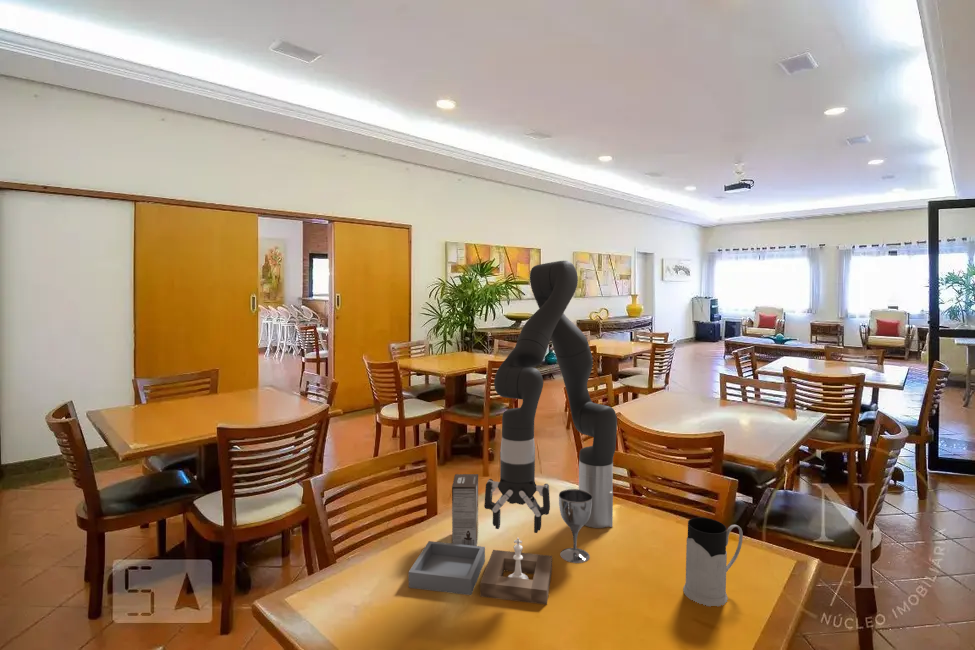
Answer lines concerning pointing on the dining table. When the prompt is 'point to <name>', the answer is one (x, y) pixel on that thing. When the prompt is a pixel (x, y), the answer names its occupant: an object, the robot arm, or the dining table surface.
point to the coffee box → (465, 509)
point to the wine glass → (575, 520)
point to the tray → (447, 568)
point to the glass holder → (708, 561)
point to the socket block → (516, 587)
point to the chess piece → (518, 561)
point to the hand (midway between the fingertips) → (516, 529)
